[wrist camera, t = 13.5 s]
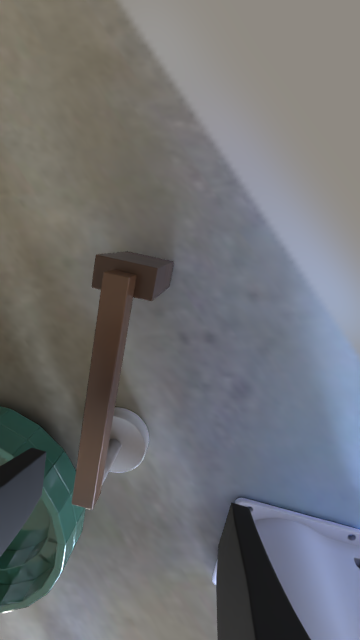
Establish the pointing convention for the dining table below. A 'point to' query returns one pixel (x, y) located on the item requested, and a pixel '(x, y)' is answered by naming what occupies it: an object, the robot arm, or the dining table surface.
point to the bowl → (38, 517)
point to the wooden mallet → (114, 372)
